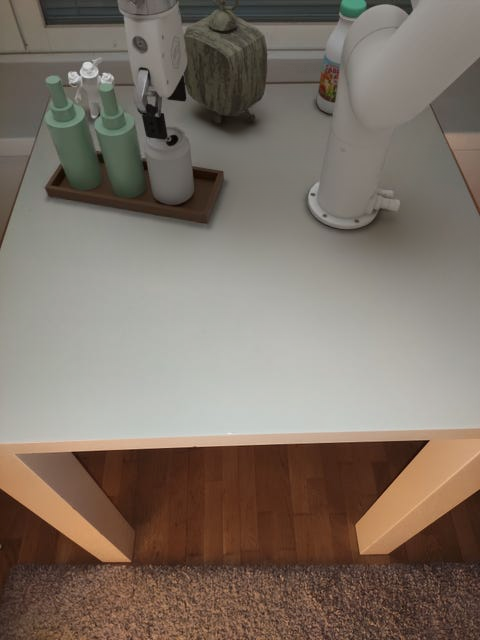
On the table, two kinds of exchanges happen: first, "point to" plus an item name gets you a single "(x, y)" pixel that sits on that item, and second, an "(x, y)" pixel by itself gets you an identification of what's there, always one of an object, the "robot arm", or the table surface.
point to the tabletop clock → (225, 62)
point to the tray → (145, 194)
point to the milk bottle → (336, 53)
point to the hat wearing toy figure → (90, 84)
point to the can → (170, 167)
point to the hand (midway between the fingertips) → (167, 117)
